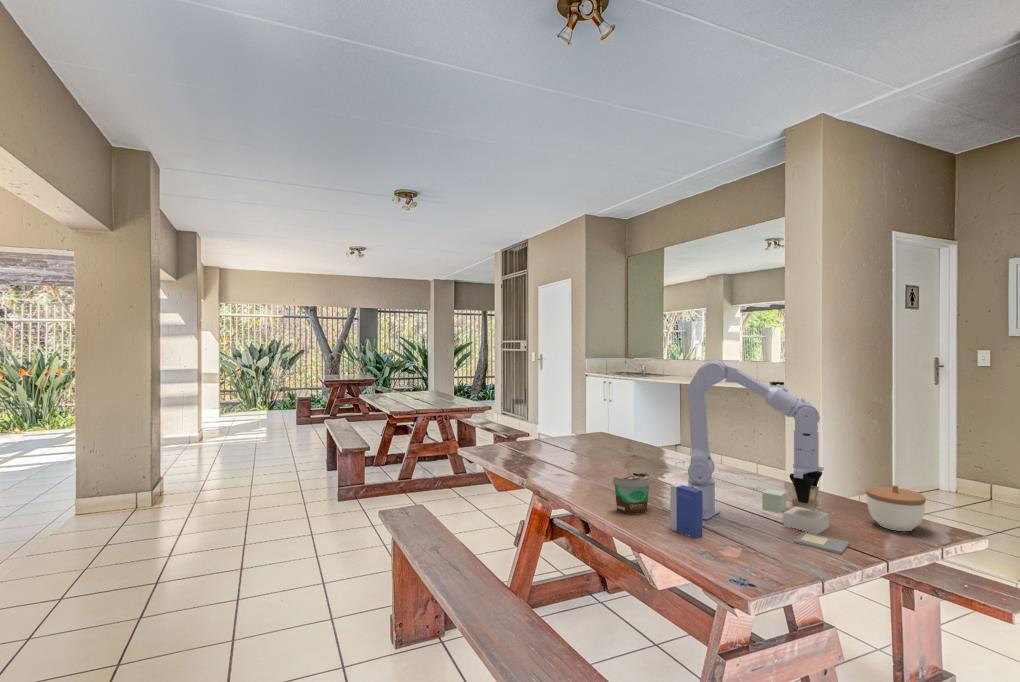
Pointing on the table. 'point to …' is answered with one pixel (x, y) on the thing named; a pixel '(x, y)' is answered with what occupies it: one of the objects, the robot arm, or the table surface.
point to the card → (822, 542)
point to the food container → (632, 493)
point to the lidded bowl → (896, 507)
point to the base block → (806, 520)
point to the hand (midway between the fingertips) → (806, 500)
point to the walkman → (686, 510)
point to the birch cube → (812, 501)
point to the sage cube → (774, 500)
